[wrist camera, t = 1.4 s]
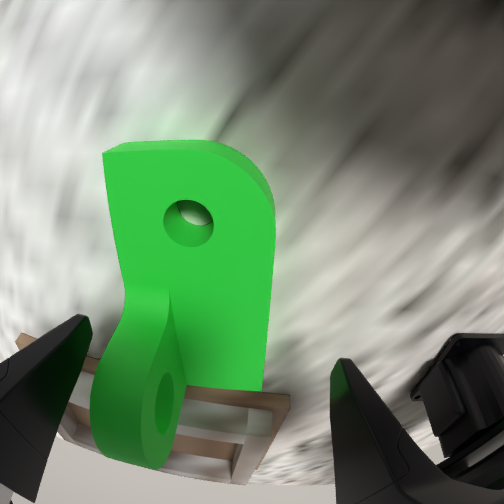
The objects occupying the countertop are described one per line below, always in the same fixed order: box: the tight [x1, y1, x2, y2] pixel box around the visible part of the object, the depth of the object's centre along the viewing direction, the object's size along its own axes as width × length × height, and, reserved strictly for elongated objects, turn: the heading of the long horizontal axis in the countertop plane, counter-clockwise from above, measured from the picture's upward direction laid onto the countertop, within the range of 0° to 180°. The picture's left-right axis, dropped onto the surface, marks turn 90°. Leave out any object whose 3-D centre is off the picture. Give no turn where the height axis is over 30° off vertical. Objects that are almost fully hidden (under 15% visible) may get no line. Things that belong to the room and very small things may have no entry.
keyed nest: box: [15, 333, 290, 485], centre depth 20 cm, size 20×13×3 cm, turn 82°
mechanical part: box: [89, 140, 276, 470], centre depth 10 cm, size 12×6×8 cm, turn 178°
